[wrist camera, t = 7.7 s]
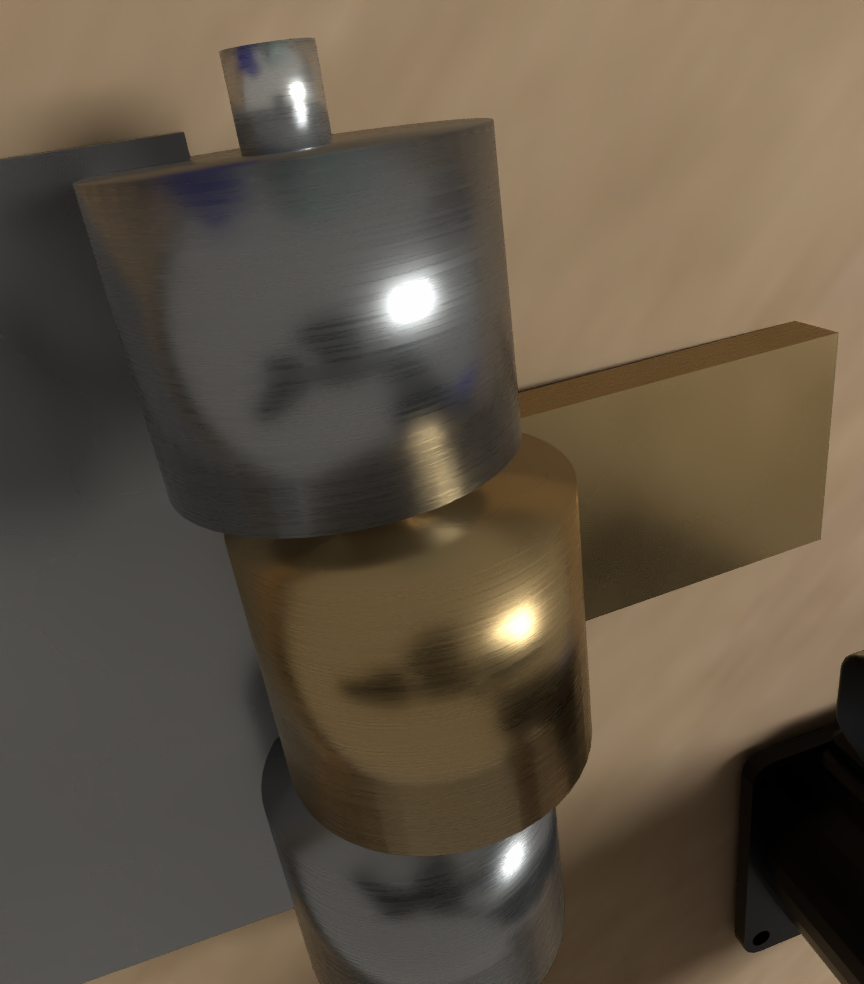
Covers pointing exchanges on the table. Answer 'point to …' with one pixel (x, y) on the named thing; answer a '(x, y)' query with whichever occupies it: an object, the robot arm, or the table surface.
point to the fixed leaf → (233, 522)
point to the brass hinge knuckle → (527, 587)
